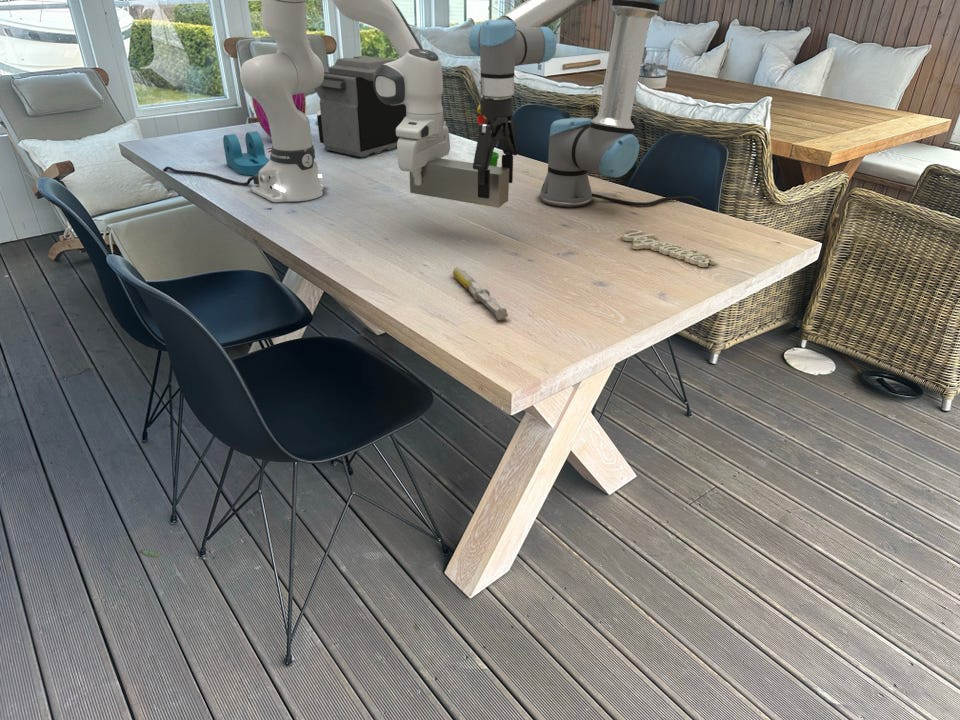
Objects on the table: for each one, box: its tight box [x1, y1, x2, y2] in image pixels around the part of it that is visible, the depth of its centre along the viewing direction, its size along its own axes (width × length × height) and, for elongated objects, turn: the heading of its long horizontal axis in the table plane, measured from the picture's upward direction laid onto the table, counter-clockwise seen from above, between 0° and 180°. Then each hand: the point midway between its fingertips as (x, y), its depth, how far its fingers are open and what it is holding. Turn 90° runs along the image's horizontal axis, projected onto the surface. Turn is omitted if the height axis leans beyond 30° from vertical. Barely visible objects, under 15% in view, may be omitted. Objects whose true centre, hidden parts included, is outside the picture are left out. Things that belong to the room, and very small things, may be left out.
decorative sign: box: [622, 228, 715, 268], centre depth 169 cm, size 26×1×10 cm
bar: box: [409, 158, 510, 209], centre depth 168 cm, size 24×6×8 cm, turn 65°
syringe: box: [452, 266, 509, 321], centre depth 145 cm, size 25×4×3 cm, turn 21°
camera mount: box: [222, 131, 271, 176], centre depth 226 cm, size 18×10×10 cm, turn 35°
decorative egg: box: [251, 93, 307, 138], centre depth 257 cm, size 19×19×30 cm
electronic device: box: [314, 55, 406, 159], centre depth 250 cm, size 37×22×30 cm, turn 144°
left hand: (425, 180), depth 172 cm, fingers closed on bar, 6 cm apart
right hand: (495, 189), depth 165 cm, fingers open, 13 cm apart
